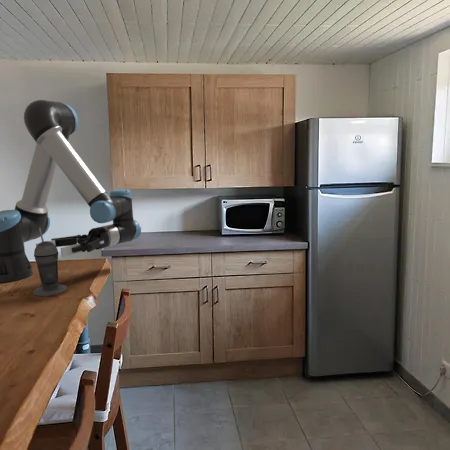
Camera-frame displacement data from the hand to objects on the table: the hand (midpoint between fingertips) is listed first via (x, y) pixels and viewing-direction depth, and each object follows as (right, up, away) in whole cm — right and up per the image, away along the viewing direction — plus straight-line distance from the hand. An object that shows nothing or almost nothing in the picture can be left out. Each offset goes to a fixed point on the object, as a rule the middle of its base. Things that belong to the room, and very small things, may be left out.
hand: (48, 250), depth 143 cm
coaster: (0, -13, +2) cm, 13 cm away
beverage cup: (0, -13, +2) cm, 13 cm away
